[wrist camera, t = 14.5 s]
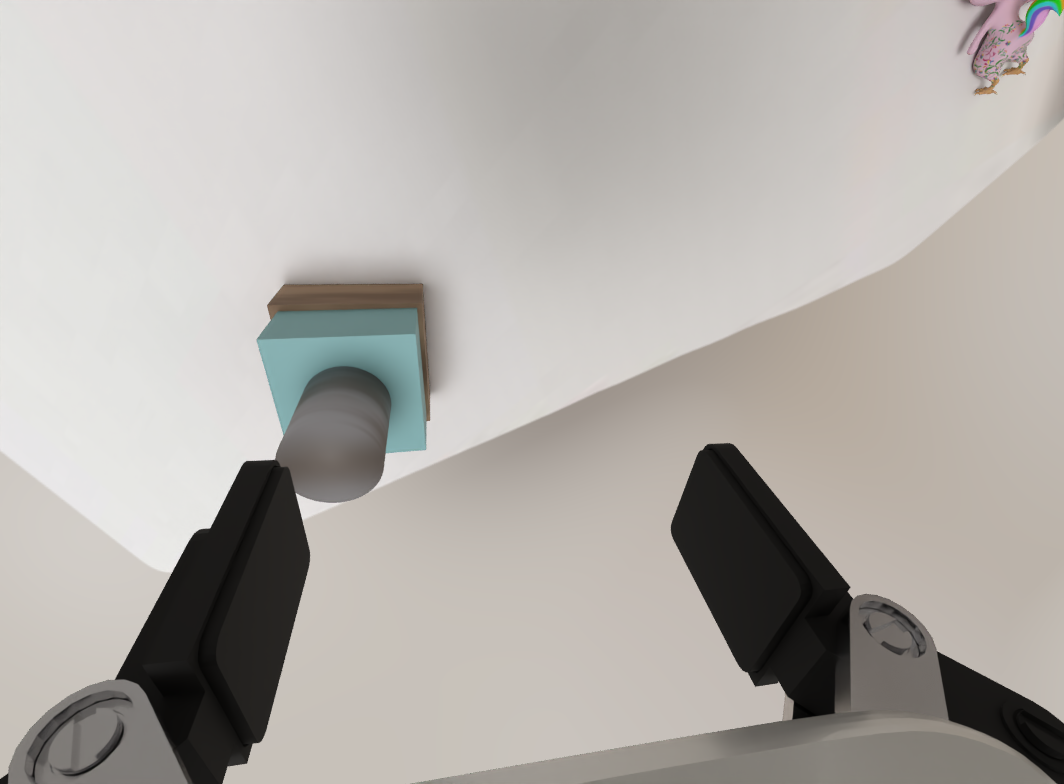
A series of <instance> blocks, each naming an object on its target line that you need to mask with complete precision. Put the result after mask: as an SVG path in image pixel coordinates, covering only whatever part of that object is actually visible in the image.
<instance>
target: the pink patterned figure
mask: <svg viewBox="0 0 1064 784" xmlns="http://www.w3.org/2000/svg"><path fill="white" fill-rule="evenodd" d="M1030 1H1034V2H1033V3H1032V4H1031V5H1030V7H1029V9H1028V11H1027V14H1026V22H1025V21H1022V20H1021V19H1020V18H1019V9H1020V7H1021V6H1022V5H1023V4H1025V3H1027V2H1030ZM995 2H996V5H995V8H994V10H993V11H992V13H991V14H990V16H989V17H988V19H987V20H986V21H985V23H984V24H983V26H982V27H981V29H980V30H979V32H978V33H977V35H976V37H975V38H974V40H973V42H972V43H971V45H970V47H969V49H968V51H967V54H968V55H971V54H973V53H975V51H976V50H977V48H978V45H979V43H980V41H981V39H982V38H983V36H984V35H985V33H986V32H987V31H988V35H987V37H986V39H985V41H984V42H983V44H982V46H981V48H980V50H979V52H978V54H977V56H976V58H975V60H974V63H973V69H974V72H975V74H976V75H978V76H980V77H983V78H985V79H987V80H989V81H991V82H992V85H991V86H990V87H989V88H987V87H985V88H981V89H977V90H975V92H976V91H978V90H979V92H976V93H975V95H976V94H991V93H995V94H997V92H995V91H994V90H992V89H993V88H994V87H995V85H996V84H997V83H998V82H999V78H998V75H999V72H1000V70H1001V67H1002V66H1003V64H1004V63H1005V62H1017V63H1019V66H1018V67H1017V68H1013V67H1012V68H1011V69H1005V70H1004V71H1007V72H1006V73H1005V74H1007V75H1010V74H1017V75H1018V74H1020V73H1023V74H1025V75H1026V73H1025V72H1023V71H1022V70H1021V69H1022V68H1023V66H1024V65H1025V64H1026V63H1027V62H1028V61H1029V58H1028V57H1027V54H1026V49H1027V46H1028V45H1029V44H1030V42H1031V41H1032V39H1033V37H1034V31H1035V30H1036V29H1037V28H1038V27H1039V26H1040V25H1041V24H1042V23H1043V22H1044V21H1045V19H1046V17H1047V15H1048V13H1049V11H1050V10H1054V11H1055V12H1057V13H1058V15H1059V16H1060V14H1061V13H1062V11H1063V9H1064V0H970V3H971V4H972V5H975V6H984V5H988V4H992V3H995ZM1005 74H1003V75H1002V76H1004V75H1005ZM1002 76H1001V77H1002Z"/></svg>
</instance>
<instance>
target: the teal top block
mask: <svg viewBox="0 0 1064 784" xmlns="http://www.w3.org/2000/svg"><path fill="white" fill-rule="evenodd" d="M257 343H258V347H259V350H260V354H261V357H262V361H263V364H264V368H265V371H266V375H267V378H268V382H269V385H270V389H271V392H272V396H273V399H274V403H275V407H276V410H277V414H278V417H279V421H280V424H281V428H282V431H283V435H284V434H285V432H286V430H287V427H288V425H289V423H290V421H291V418H292V416H293V414H294V412H295V409H296V407H297V405H298V403H299V400H300V398H301V396H302V394H303V391H304V389H305V387H306V385H307V383H308V382H309V381H310V379H312V378H313V377H314V376H315V375H316V374H318V373H319V372H321V371H323V370H326V369H329V368H333V367H339V366H348V367H355V368H359V369H362V370H365V371H367V372H369V373H371V374H373V375H374V376H376V377H377V378H378V379H379V380H380V381H381V382H382V383H383V384H384V385H385V386H386V388H387V390H388V392H389V394H390V398H391V412H390V420H389V429H388V437H387V445H386V453H394V452H406V451H419V450H426V404H425V393H424V382H423V370H422V359H421V347H420V336H419V325H418V313H417V308H390V309H351V310H312V311H278V312H277V313H276V314H275V316H274V317H273V318H272V320H271V321H270V322H269V324H268V325H267V326H266V328H265V329H264V330H263V332H262V333H261V334H260V336H259V337H258V338H257Z"/></svg>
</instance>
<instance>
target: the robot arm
mask: <svg viewBox="0 0 1064 784" xmlns="http://www.w3.org/2000/svg"><path fill="white" fill-rule="evenodd" d="M671 534H672V537H673V539H674V541H675V543H676V545H677V547H678V549H679V551H680V553H681V555H682V557H683V559H684V561H685V563H686V565H687V567H688V569H689V570H690V572H691V574H692V576H693V578H694V580H695V582H696V584H697V586H698V588H699V590H700V592H701V594H702V596H703V598H704V599H705V602H706V603H707V605H708V607H709V609H710V611H711V613H712V615H713V617H714V619H715V621H716V623H717V625H718V627H719V628H720V630H721V632H722V634H723V636H724V638H725V640H726V642H727V644H728V646H729V648H730V650H731V652H732V654H733V656H734V658H735V660H736V662H737V663H738V665H739V667H740V668H741V669H742V670H743V671H745V672H748V674H749V676H750V678H751V680H752V681H753V683H754V685H755V686H763V685H769V684H775V683H778V681H779V683H780V684H781V686H782V688H783V690H784V691H785V703H784V711H783V721H779V722H773V723H767V724H761V725H755V726H749V727H742V728H736V729H730V730H725V731H718V732H712V733H706V734H700V735H694V736H687V737H681V738H676V739H669V740H663V741H657V742H651V743H645V744H640V745H633V746H628V747H622V748H616V749H610V750H604V751H598V752H592V753H586V754H580V755H574V756H568V757H563V758H557V759H551V760H545V761H539V762H533V763H527V764H521V765H515V766H510V767H504V768H498V769H493V770H487V771H482V772H475V773H470V774H464V775H458V776H452V777H447V778H441V779H436V780H429V781H424V782H419V783H412V784H1064V723H1062V722H1061V721H1060V720H1059V719H1057V718H1056V717H1055V716H1054V715H1052V714H1051V713H1050V712H1049V711H1047V710H1046V709H1044V708H1043V707H1041V706H1039V705H1038V704H1036V703H1034V702H1033V701H1031V700H1029V699H1027V698H1025V697H1023V696H1022V695H1020V694H1018V693H1016V692H1014V691H1012V690H1010V689H1008V688H1006V687H1004V686H1002V685H1000V684H998V683H996V682H994V681H993V680H991V679H989V678H987V677H985V676H983V675H981V674H979V673H978V672H976V671H974V670H972V669H970V668H968V667H966V666H964V665H962V664H960V663H958V662H956V661H955V660H953V659H951V658H949V657H947V656H945V655H943V654H941V653H939V652H937V650H936V647H935V644H934V641H933V639H932V637H931V635H930V634H929V632H928V631H927V629H926V628H925V626H924V625H923V624H922V623H921V622H920V621H919V620H918V619H917V618H916V617H915V616H914V615H913V614H911V613H910V612H909V611H907V610H906V609H905V608H903V607H902V606H900V605H898V604H897V603H895V602H893V601H891V600H889V599H886V598H883V597H880V596H878V595H871V594H863V595H859V596H857V597H855V598H854V599H853V598H852V597H851V596H850V594H849V593H848V592H847V591H848V590H849V588H850V586H849V585H848V584H847V582H846V581H845V580H844V579H843V578H842V576H841V575H840V574H839V573H838V571H837V570H836V569H835V568H834V566H833V565H832V564H831V563H830V562H829V560H828V559H827V558H826V557H825V556H824V554H823V553H822V552H821V551H820V549H819V548H818V547H817V546H816V544H815V543H814V542H813V541H812V540H811V538H810V537H809V536H808V535H807V533H806V532H805V531H804V530H803V529H802V527H801V526H800V525H799V524H798V522H797V521H796V520H795V519H794V517H793V516H792V515H791V514H790V513H789V511H788V510H787V509H786V508H785V507H784V505H783V504H782V503H781V502H780V500H779V499H778V498H777V497H776V495H775V494H774V493H773V492H772V491H771V489H770V488H769V487H768V486H767V484H766V483H765V482H764V481H763V479H762V478H761V477H760V476H759V475H758V474H757V472H756V471H755V470H754V469H753V467H752V466H751V465H750V464H749V462H748V461H747V460H746V459H745V457H744V456H743V455H742V454H741V453H740V451H739V450H738V449H737V448H736V447H735V446H734V445H733V444H730V443H724V444H708V445H707V446H705V448H704V449H703V450H702V451H700V452H699V453H698V455H697V457H696V460H695V463H694V465H693V468H692V471H691V473H690V476H689V478H688V481H687V484H686V486H685V489H684V492H683V494H682V497H681V500H680V502H679V505H678V507H677V510H676V513H675V515H674V518H673V521H672V524H671ZM309 562H310V550H309V546H308V542H307V538H306V534H305V530H304V526H303V521H302V517H301V513H300V509H299V505H298V501H297V497H296V493H295V489H294V485H293V481H292V477H291V473H290V470H289V468H288V467H281V466H280V464H279V462H278V461H277V460H264V461H246V462H245V463H244V464H243V465H242V467H241V469H240V471H239V473H238V475H237V477H236V479H235V481H234V483H233V485H232V487H231V489H230V491H229V492H228V494H227V496H226V498H225V500H224V502H223V504H222V506H221V508H220V510H219V512H218V514H217V516H216V518H215V520H214V522H213V524H212V526H211V528H210V529H201V530H198V531H197V532H196V533H194V535H193V536H192V538H191V539H190V541H189V542H188V544H187V546H186V548H185V550H184V552H183V553H182V555H181V557H180V559H179V561H178V563H177V565H176V566H175V568H174V570H173V572H172V574H171V576H170V578H169V580H168V581H167V583H166V585H165V587H164V589H163V591H162V593H161V594H160V597H159V598H158V600H157V602H156V604H155V606H154V608H153V610H152V611H151V613H150V615H149V617H148V619H147V621H146V623H145V624H144V626H143V628H142V630H141V632H140V634H139V636H138V638H137V639H136V641H135V643H134V645H133V647H132V649H131V651H130V652H129V654H128V656H127V658H126V660H125V662H124V664H123V666H122V667H121V669H120V671H119V673H118V675H117V677H116V679H115V680H107V681H103V682H100V683H97V684H93V685H90V686H87V687H85V688H84V689H81V690H79V691H77V692H75V693H73V694H72V695H70V696H68V697H67V698H65V699H64V700H62V701H61V702H60V703H58V704H57V705H55V706H54V707H53V708H51V709H50V710H48V712H46V713H45V715H43V716H42V718H40V719H39V720H38V721H37V722H36V723H35V724H34V725H33V726H32V727H31V728H30V729H29V731H28V732H27V734H26V735H25V737H24V738H23V739H22V741H21V742H20V744H19V745H18V747H17V748H16V750H15V753H14V755H13V758H12V760H11V763H10V765H9V773H8V774H7V775H5V776H4V777H3V778H1V779H0V784H222V783H223V780H224V776H225V773H226V770H227V766H234V765H240V764H247V761H248V758H249V755H250V751H251V747H252V744H253V743H259V742H261V741H262V739H263V737H264V735H265V732H266V729H267V725H268V721H269V717H270V714H271V710H272V706H273V702H274V698H275V694H276V690H277V687H278V683H279V679H280V675H281V671H282V668H283V664H284V660H285V656H286V652H287V649H288V645H289V640H290V637H291V633H292V629H293V626H294V622H295V618H296V614H297V610H298V606H299V603H300V598H301V595H302V591H303V587H304V584H305V580H306V576H307V572H308V568H309Z"/></svg>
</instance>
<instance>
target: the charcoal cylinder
mask: <svg viewBox="0 0 1064 784" xmlns="http://www.w3.org/2000/svg"><path fill="white" fill-rule="evenodd" d="M390 412H391V398H390V394H389V392H388V390H387V388H386V386H385V385H384V384H383V383H382V382H381V381H380V380H379V379H378V378H377V377H376V376H374V375H373V374H371V373H369V372H367V371H365V370H362V369H359V368H355V367H348V366H339V367H333V368H329V369H326V370H323V371H321V372H319V373H318V374H316V375H315V376H314V377H313V378H312V379H310V381H309V382H308V383H307V385H306V387H305V389H304V391H303V394H302V396H301V398H300V400H299V403H298V405H297V407H296V409H295V412H294V414H293V416H292V418H291V421H290V423H289V425H288V427H287V430H286V432H285V434H284V436H283V439H282V441H281V443H280V445H279V448H278V450H277V453H276V458H275V460H277V461H278V462H279V464H280V466H281V467H288V468H289V470H290V473H291V477H292V481H293V485H294V489H295V493H297V494H299V495H301V496H303V497H305V498H308V499H311V500H315V501H319V502H327V503H337V502H346V501H350V500H353V499H356V498H359V497H361V496H363V495H365V494H366V493H368V492H369V491H371V490H372V489H373V488H374V487H375V486H376V485H377V483H378V482H379V480H380V479H381V476H382V474H383V469H384V461H385V453H386V445H387V437H388V429H389V420H390Z"/></svg>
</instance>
